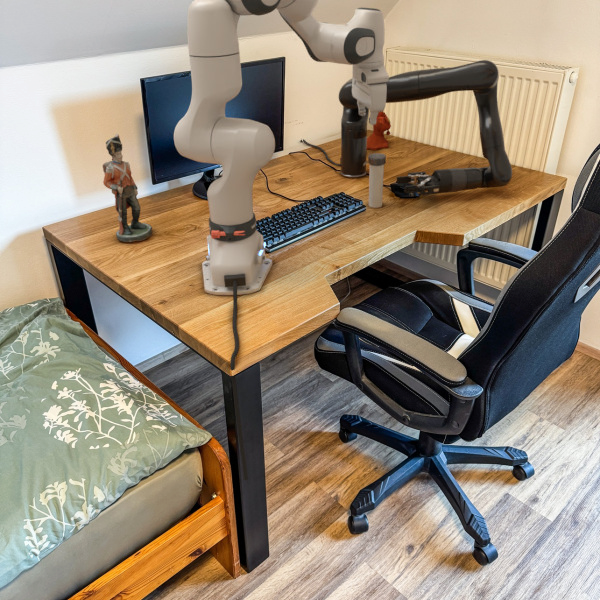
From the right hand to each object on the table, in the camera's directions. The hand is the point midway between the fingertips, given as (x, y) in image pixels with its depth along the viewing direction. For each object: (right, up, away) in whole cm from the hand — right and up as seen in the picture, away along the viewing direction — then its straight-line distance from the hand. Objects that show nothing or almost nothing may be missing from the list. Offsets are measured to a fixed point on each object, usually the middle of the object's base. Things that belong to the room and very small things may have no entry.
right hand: (400, 185), depth 180 cm
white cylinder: (-8, -6, +2) cm, 10 cm away
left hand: (-12, +17, -12) cm, 24 cm away
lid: (-9, +7, -6) cm, 13 cm away
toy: (-2, +28, +56) cm, 63 cm away
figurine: (-82, -18, -11) cm, 85 cm away
